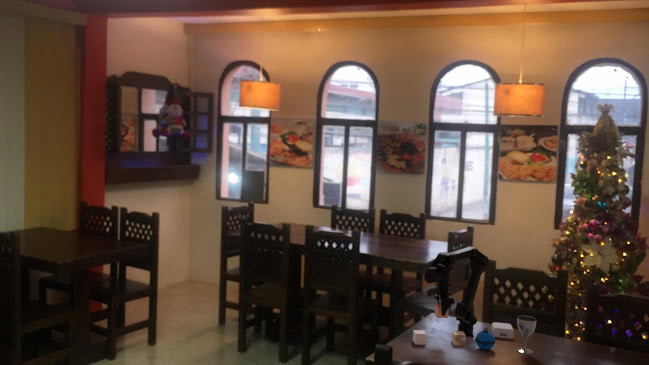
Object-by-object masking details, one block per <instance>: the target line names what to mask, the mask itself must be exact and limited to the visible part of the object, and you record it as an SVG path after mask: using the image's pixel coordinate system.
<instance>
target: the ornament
mask: <svg viewBox="0 0 649 365" xmlns="http://www.w3.org/2000/svg"><path fill="white" fill-rule="evenodd" d="M474 337H475V339H474V341H475V343H476V345H477V347H478V348H479V349H481V350H483V351H488V350H490V349H493V347H494V346H495V344H496V337H494V336H493V333H492V332H490V331H489V328H488V327H484V328H483V330H481V331H479V332H478V333H477V334H476V336H474Z"/></svg>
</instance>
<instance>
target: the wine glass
mask: <svg viewBox="0 0 649 365" xmlns="http://www.w3.org/2000/svg"><path fill="white" fill-rule="evenodd" d="M516 321H517V329H518V331H519V333H520V334H521V335H522V338H523V347H518V348H516V349H515V350H516V352H518V353H520V354H523V355H524V354H526V355H530V354H533V350H531V349H529V348H527V341H528V338H529V337H530V336H531V335H532V334H533V333H534V332H535V330H536V325H537V318H535V317H534V316H530V315H519V316H517V319H516Z"/></svg>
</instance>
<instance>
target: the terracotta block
mask: <svg viewBox="0 0 649 365" xmlns="http://www.w3.org/2000/svg"><path fill="white" fill-rule="evenodd" d="M449 309H450V307H449V308H448V310H447V312H446V314H445V316H442V313H441V304H437V303H435V304H434V315H435V317H436V318H437V319H439V318H440V319H449V312H450V310H449Z"/></svg>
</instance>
